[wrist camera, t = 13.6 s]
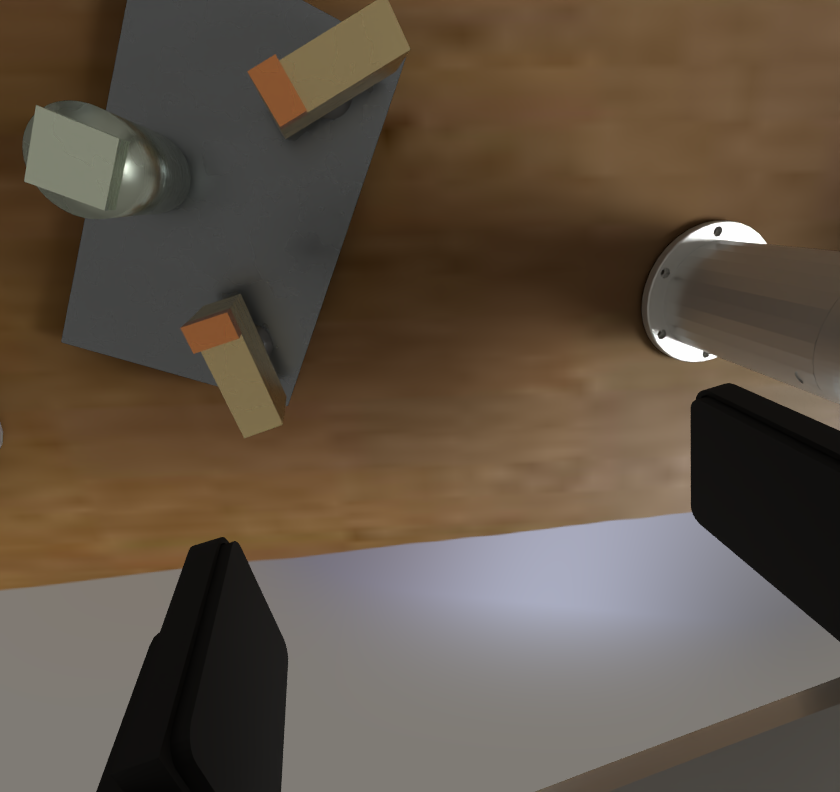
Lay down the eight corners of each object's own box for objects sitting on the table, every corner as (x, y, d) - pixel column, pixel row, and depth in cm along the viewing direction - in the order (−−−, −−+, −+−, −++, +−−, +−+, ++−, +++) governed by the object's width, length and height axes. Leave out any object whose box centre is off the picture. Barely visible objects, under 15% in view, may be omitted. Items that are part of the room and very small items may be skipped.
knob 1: (288, 387, 39) (282, 432, 31) (254, 398, 39) (241, 446, 31) (245, 288, 36) (227, 312, 28) (208, 300, 35) (180, 327, 28)
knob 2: (370, 35, 32) (388, -16, 24) (391, 79, 33) (415, 44, 25) (262, 101, 32) (247, 71, 24) (287, 143, 33) (280, 127, 25)
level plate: (401, 63, 35) (449, -10, 22) (288, 396, 42) (278, 479, 29) (153, -68, 30) (43, -254, 18) (73, 335, 37) (-46, 402, 25)
